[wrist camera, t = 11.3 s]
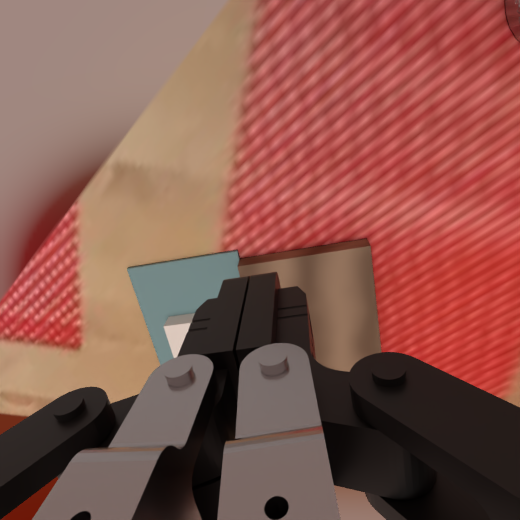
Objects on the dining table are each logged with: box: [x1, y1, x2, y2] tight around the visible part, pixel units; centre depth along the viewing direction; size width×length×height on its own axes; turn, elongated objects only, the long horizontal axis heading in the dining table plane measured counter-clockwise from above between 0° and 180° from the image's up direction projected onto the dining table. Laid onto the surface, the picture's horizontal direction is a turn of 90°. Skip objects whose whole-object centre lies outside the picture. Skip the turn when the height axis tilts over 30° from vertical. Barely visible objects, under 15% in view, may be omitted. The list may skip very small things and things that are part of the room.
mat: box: [127, 250, 240, 365], centre depth 46 cm, size 12×18×1 cm, turn 11°
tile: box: [163, 313, 195, 358], centre depth 45 cm, size 9×6×2 cm, turn 101°
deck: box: [237, 239, 381, 372], centre depth 44 cm, size 13×16×2 cm
